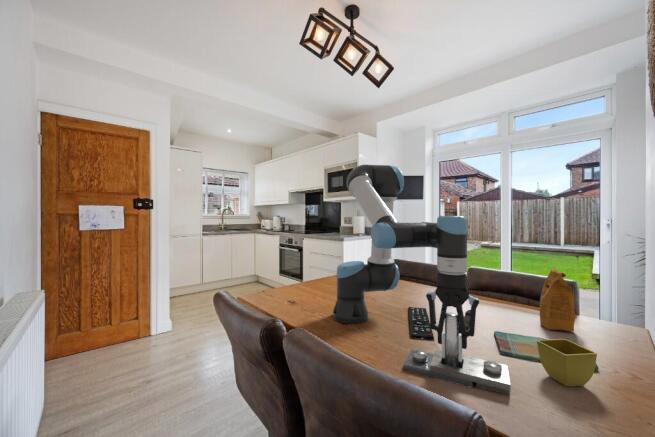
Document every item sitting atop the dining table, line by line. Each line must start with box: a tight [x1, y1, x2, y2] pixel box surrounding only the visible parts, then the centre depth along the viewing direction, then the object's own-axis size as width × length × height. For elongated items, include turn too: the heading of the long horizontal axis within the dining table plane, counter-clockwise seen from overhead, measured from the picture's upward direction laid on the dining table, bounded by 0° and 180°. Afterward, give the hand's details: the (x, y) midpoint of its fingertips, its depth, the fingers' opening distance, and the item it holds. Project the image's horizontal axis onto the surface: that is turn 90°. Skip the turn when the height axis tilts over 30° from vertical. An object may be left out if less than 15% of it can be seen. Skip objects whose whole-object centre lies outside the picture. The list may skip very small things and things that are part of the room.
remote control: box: [407, 306, 435, 341], centre depth 112 cm, size 8×32×2 cm, turn 165°
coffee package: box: [539, 267, 576, 332], centre depth 107 cm, size 10×12×22 cm
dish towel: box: [493, 330, 600, 372], centre depth 88 cm, size 17×23×2 cm
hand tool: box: [459, 309, 471, 334], centre depth 108 cm, size 19×4×5 cm, turn 141°
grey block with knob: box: [430, 349, 511, 396], centre depth 74 cm, size 18×10×4 cm, turn 61°
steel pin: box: [444, 311, 459, 368], centre depth 76 cm, size 4×4×15 cm
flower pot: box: [537, 338, 598, 387], centre depth 72 cm, size 9×9×9 cm
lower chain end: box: [403, 348, 473, 388], centre depth 78 cm, size 17×10×4 cm, turn 61°
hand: (452, 357), depth 76 cm, fingers closed on steel pin, 3 cm apart
